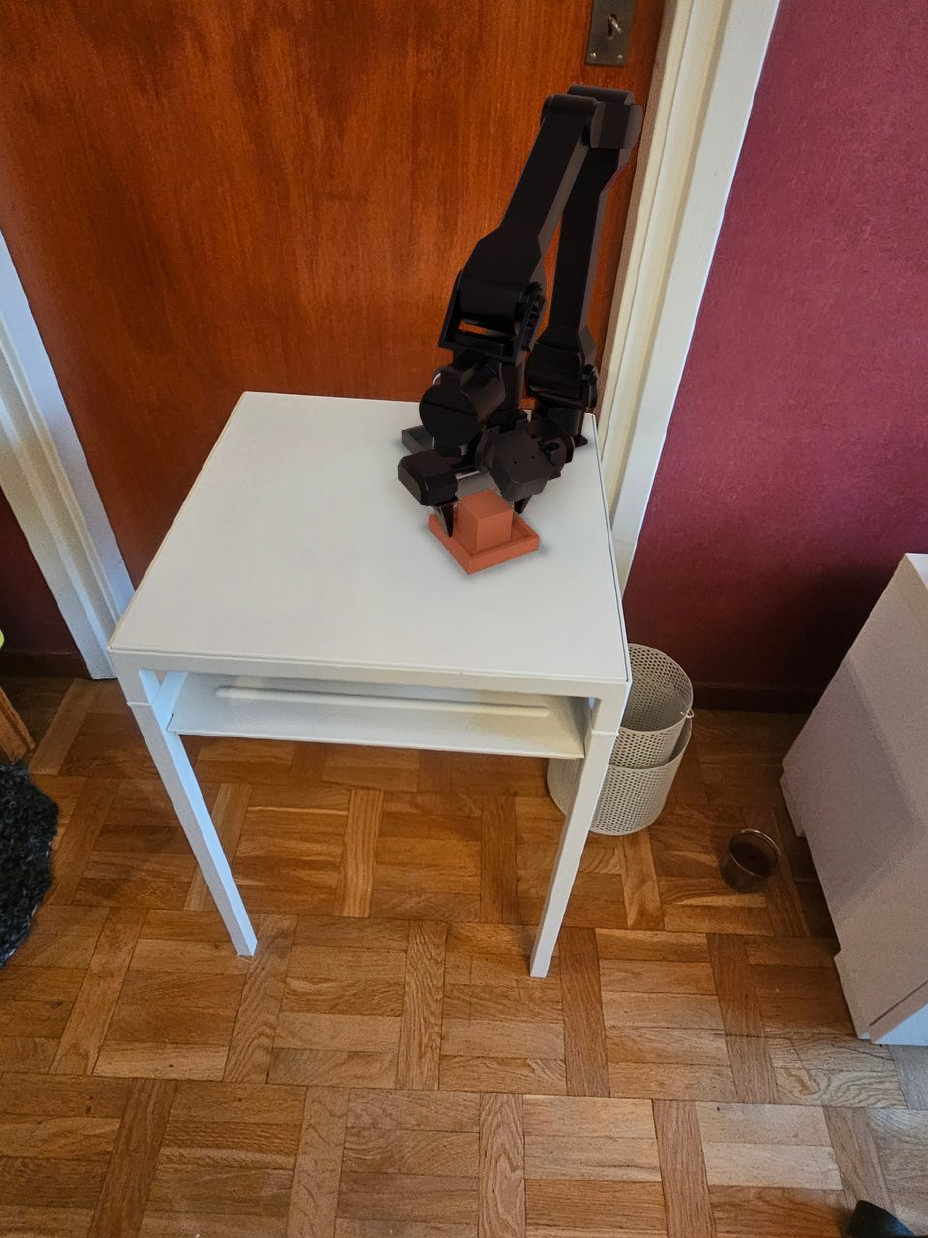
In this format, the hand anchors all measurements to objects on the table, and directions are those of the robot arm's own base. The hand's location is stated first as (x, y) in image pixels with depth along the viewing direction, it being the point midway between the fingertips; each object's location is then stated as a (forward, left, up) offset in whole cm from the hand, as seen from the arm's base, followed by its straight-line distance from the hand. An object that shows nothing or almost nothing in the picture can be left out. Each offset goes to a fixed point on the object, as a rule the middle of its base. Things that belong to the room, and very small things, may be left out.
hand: (483, 523), depth 84 cm
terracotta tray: (0, 0, -2) cm, 2 cm away
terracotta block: (0, 0, -2) cm, 2 cm away
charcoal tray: (-6, -17, -2) cm, 18 cm away
